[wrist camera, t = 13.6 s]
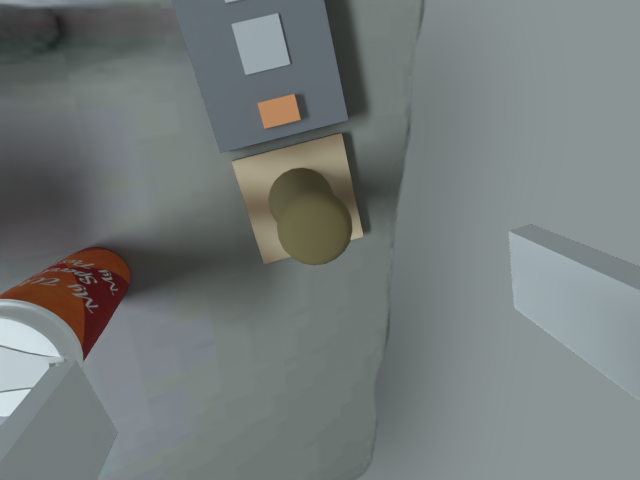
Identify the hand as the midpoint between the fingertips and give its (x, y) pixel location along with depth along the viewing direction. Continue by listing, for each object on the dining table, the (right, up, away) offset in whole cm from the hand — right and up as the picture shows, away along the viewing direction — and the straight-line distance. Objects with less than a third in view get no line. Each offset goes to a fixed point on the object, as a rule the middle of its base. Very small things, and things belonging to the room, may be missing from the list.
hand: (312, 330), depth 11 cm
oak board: (-2, +7, +24) cm, 25 cm away
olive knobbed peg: (-2, +6, +24) cm, 24 cm away
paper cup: (-20, -1, +24) cm, 31 cm away
